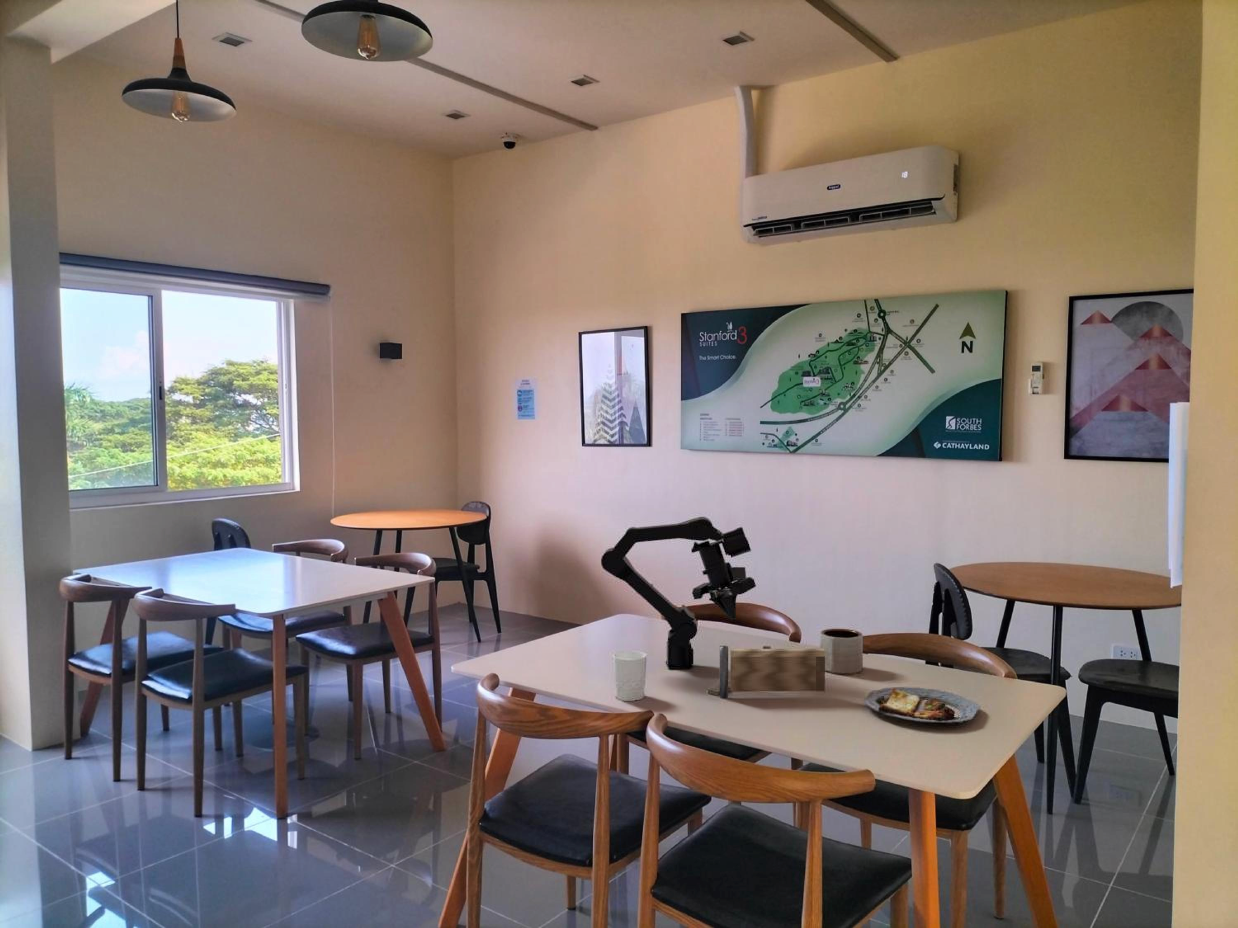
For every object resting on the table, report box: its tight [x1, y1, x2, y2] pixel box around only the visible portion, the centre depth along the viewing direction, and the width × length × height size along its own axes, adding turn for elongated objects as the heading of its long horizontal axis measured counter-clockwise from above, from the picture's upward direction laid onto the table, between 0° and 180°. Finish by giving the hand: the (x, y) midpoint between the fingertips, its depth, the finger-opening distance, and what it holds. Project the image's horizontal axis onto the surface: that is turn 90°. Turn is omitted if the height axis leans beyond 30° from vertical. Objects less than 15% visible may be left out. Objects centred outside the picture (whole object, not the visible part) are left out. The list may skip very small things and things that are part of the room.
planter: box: [819, 628, 864, 675], centre depth 225 cm, size 11×11×10 cm
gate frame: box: [707, 645, 772, 699], centre depth 212 cm, size 26×6×12 cm, turn 139°
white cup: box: [612, 650, 647, 702], centre depth 203 cm, size 8×8×10 cm
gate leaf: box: [729, 648, 826, 693], centre depth 202 cm, size 22×2×10 cm, turn 91°
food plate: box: [863, 686, 981, 725], centre depth 192 cm, size 25×23×4 cm
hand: (733, 618), depth 227 cm, fingers closed
